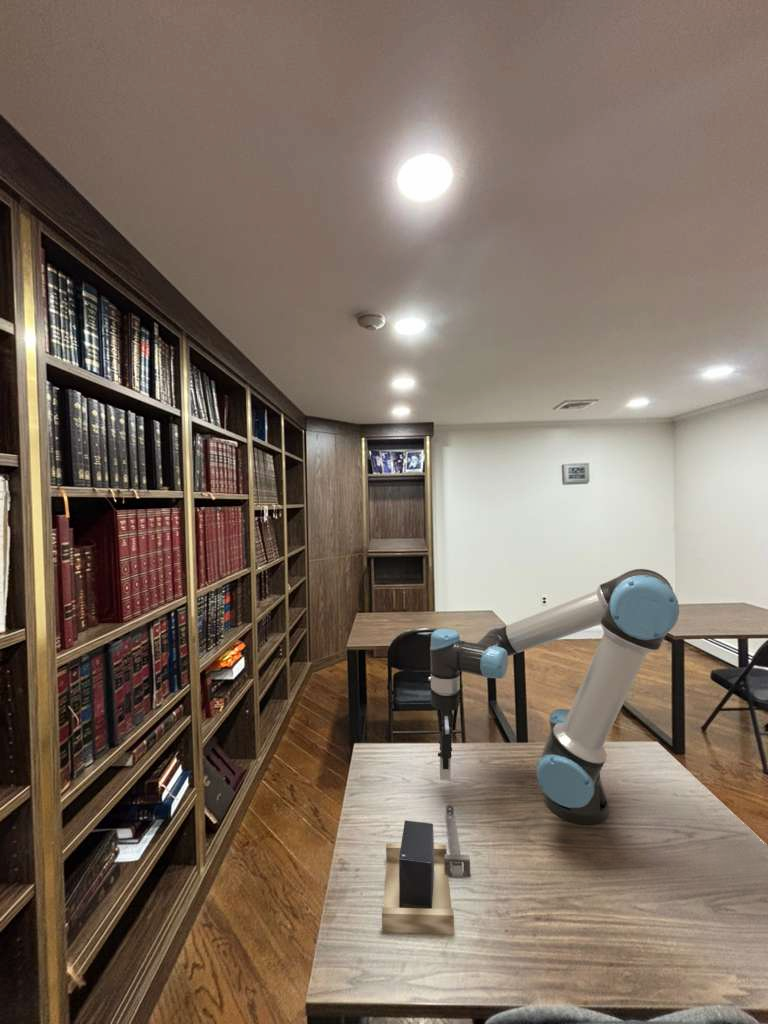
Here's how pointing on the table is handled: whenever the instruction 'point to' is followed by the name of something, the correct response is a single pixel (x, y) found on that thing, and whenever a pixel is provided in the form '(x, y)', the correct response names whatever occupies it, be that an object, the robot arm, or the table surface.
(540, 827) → the table surface
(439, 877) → the cradle
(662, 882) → the table surface
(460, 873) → the lock bolt
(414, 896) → the small box
